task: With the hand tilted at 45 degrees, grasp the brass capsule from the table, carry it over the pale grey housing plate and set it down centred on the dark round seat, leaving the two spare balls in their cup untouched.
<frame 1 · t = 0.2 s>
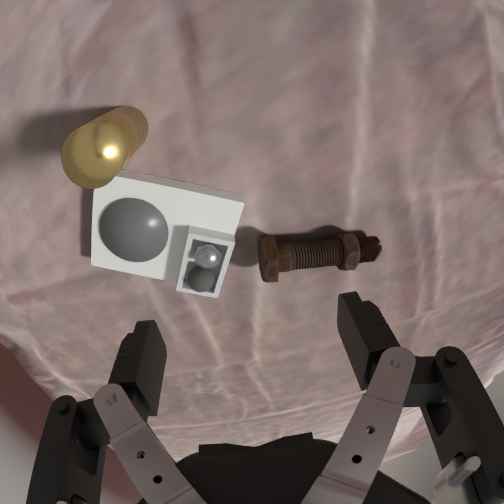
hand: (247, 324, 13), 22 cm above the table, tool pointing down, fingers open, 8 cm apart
brass capsule: (124, 129, 28), on the table
rubber ball: (200, 279, 35), point 3 cm above the table, touching housing plate
steel ball: (207, 255, 34), point 3 cm above the table, touching housing plate
housing plate: (162, 227, 35), on the table
bolt: (317, 243, 39), on the table
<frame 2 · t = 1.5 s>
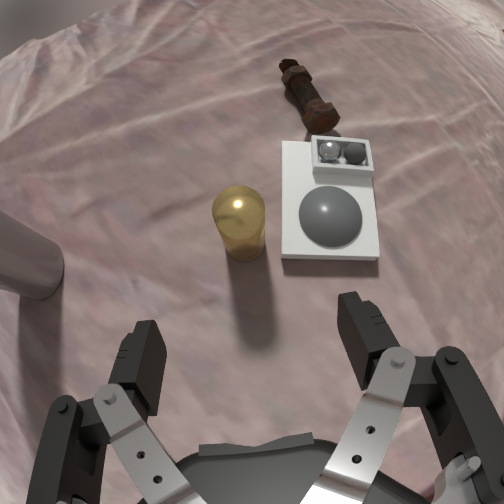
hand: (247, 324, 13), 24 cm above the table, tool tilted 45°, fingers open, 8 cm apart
brass capsule: (244, 241, 39), on the table
rubber ball: (354, 153, 38), point 3 cm above the table, touching housing plate
steel ball: (330, 151, 38), point 3 cm above the table, touching housing plate
housing plate: (326, 200, 40), on the table
bolt: (303, 100, 46), on the table
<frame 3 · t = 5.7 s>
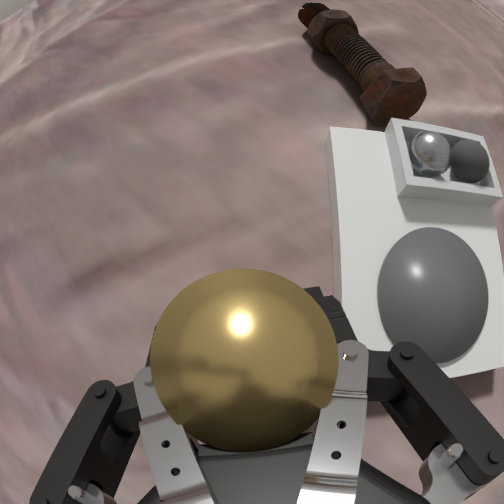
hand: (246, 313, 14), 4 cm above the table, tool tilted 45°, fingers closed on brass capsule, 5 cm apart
brass capsule: (255, 351, 17), on the table, touching gripper
rubber ball: (469, 161, 16), point 3 cm above the table, touching housing plate
steel ball: (429, 153, 17), point 3 cm above the table, touching housing plate
housing plate: (419, 253, 18), on the table
bolt: (347, 68, 24), on the table
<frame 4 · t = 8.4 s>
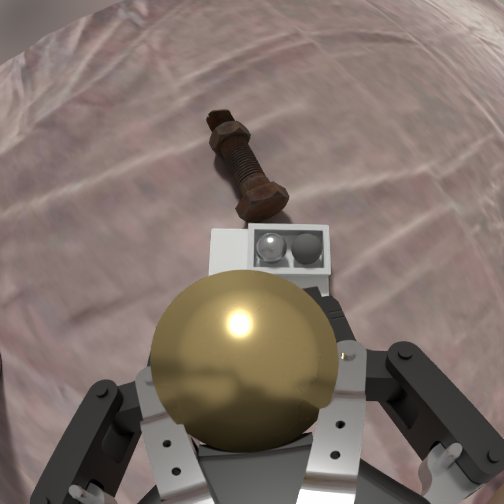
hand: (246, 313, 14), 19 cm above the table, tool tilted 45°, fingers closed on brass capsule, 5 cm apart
brass capsule: (255, 352, 17), point 14 cm above the table, touching gripper
rubber ball: (306, 248, 30), point 3 cm above the table, touching housing plate
steel ball: (271, 248, 30), point 3 cm above the table, touching housing plate
housing plate: (268, 309, 32), on the table
bolt: (241, 167, 37), on the table
when the fingers open (7 cm above the table, at t = 11.0 s): brass capsule stays where it is, resting on housing plate.
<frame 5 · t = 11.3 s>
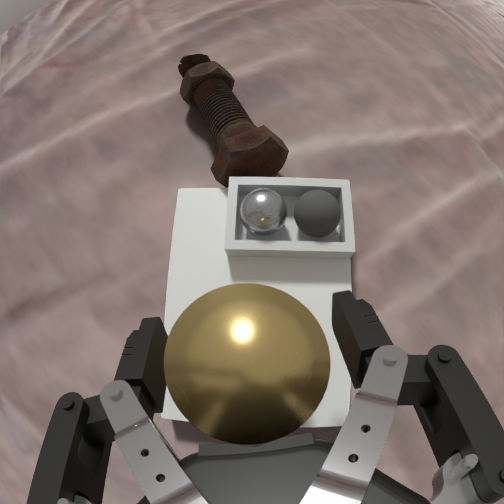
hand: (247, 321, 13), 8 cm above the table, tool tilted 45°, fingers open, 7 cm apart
brass capsule: (255, 353, 18), point 2 cm above the table, touching housing plate
rubber ball: (317, 213, 19), point 3 cm above the table, touching housing plate
steel ball: (263, 212, 20), point 3 cm above the table, touching housing plate
housing plate: (259, 306, 21), on the table
bolt: (223, 122, 27), on the table
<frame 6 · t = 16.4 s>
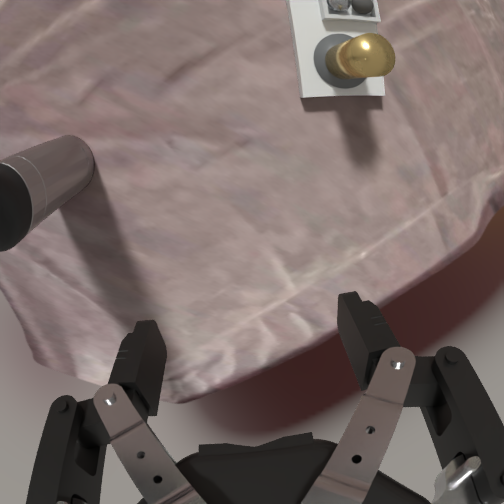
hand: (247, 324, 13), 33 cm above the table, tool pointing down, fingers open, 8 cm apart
brass capsule: (343, 61, 34), point 2 cm above the table, touching housing plate
rubber ball: (362, 4, 29), point 3 cm above the table, touching housing plate
steel ball: (338, 2, 29), point 3 cm above the table, touching housing plate
housing plate: (334, 42, 35), on the table
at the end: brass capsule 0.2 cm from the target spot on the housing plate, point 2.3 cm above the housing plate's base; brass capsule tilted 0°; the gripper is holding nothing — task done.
